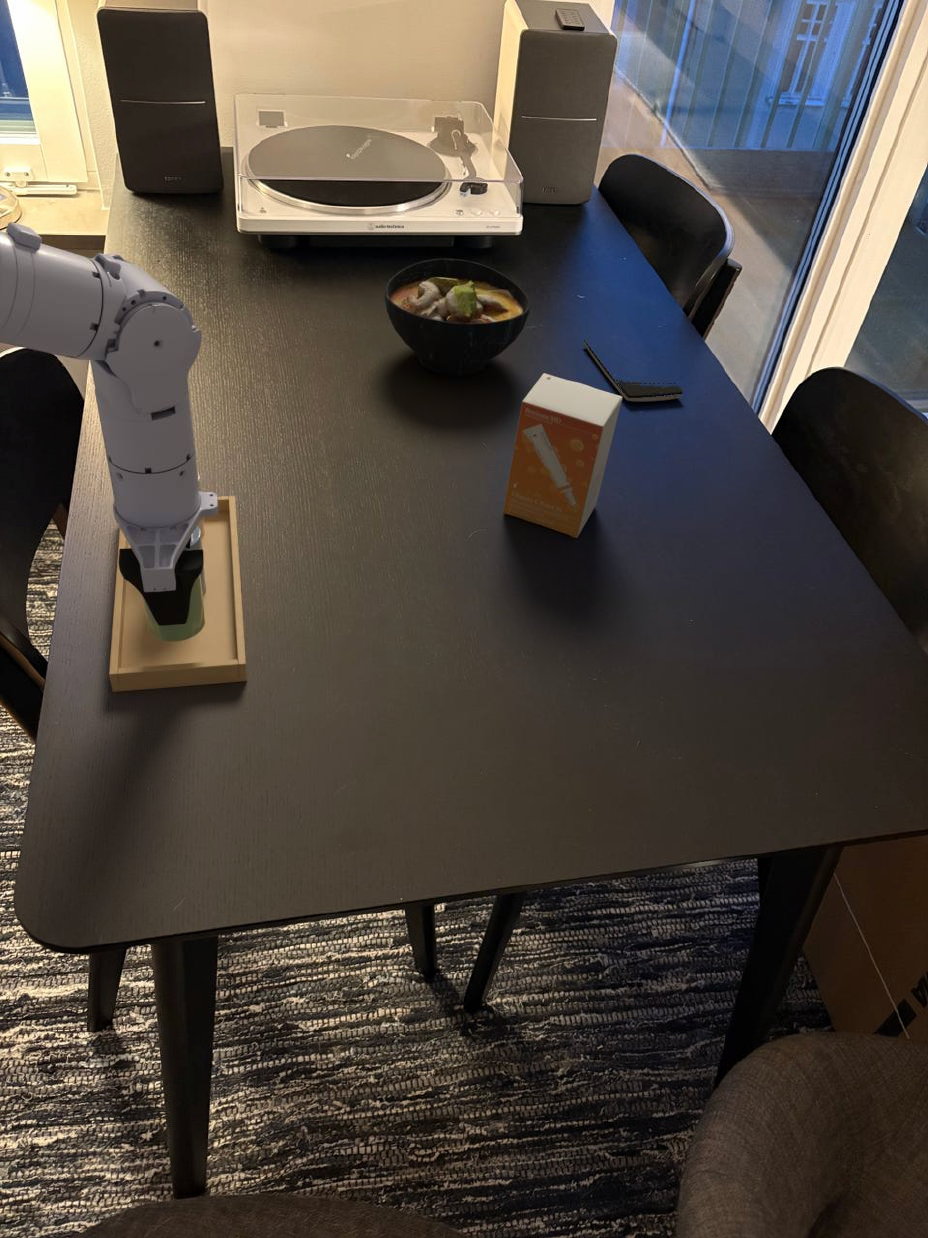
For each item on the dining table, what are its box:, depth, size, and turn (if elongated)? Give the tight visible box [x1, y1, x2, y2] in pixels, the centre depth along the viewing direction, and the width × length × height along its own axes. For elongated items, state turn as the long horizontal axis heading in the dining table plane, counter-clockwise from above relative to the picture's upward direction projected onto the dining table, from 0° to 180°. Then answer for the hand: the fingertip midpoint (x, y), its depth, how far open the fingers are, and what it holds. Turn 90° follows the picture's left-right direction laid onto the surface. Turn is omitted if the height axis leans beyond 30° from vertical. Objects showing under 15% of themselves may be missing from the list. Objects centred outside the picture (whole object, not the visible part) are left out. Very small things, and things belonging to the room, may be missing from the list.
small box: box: [503, 372, 624, 539], centre depth 94 cm, size 8×6×13 cm
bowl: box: [384, 258, 531, 377], centre depth 115 cm, size 17×17×10 cm
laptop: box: [582, 339, 684, 402], centre depth 120 cm, size 7×1×15 cm
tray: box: [108, 495, 248, 693], centre depth 83 cm, size 10×22×2 cm, turn 12°
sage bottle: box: [142, 547, 206, 642], centre depth 73 cm, size 4×4×8 cm
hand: (172, 599), depth 74 cm, fingers closed on sage bottle, 4 cm apart
